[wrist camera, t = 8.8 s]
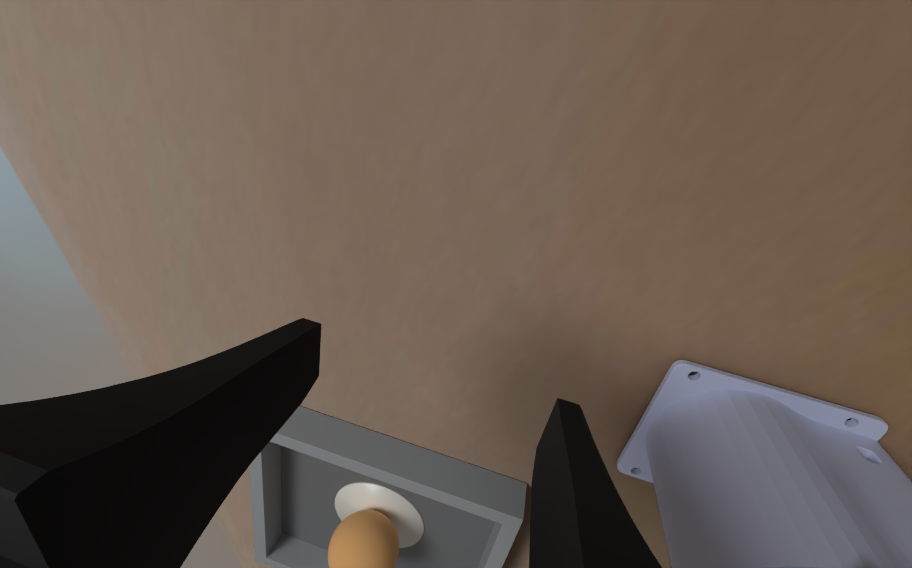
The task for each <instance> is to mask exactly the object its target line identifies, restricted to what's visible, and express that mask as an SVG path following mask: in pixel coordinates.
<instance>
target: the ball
mask: <svg viewBox="0 0 912 568" xmlns="http://www.w3.org/2000/svg"><path fill="white" fill-rule="evenodd" d="M398 555H399V537H398V533H397V531H396V528H395V526H394V525H393V523H392V522H391V520H390V519H389V518H388V517H387V516H385V515H384V514H382V513H381V512H378V511H375V510H360V511H357V512H355V513H353V514H351V515H349V516H348V517H346V518H345V519H344V520H343V521H342V522H341V523H340V524H339V525H338V527H337V528H336V529H335V531H334V533H333V535H332V537H331V540H330V543H329V548H328V564H329V568H395V565H396V563H397V560H398Z"/></svg>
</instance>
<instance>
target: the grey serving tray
mask: <svg viewBox="0 0 912 568" xmlns="http://www.w3.org/2000/svg"><path fill="white" fill-rule="evenodd" d="M249 477H250V491H251V505H252V519H253V533H254V547H255V560H256V561H259V562H261V563H264V564H266V565H269V566H271V567H274V568H329V564H328V548H329V543H330V540H331V537H332V535H333V533H334V531H335V529H336V528H337V527H338V525H339V524H340V523H341V522H342V521H343V520H344V519H345V518H346V517H348V516H349V515H351V514H353V513H355V512H357V511H360V510H375V511H378V512H381V513H382V514H384V515H385V516H387V517H388V518H389V519H390V520H391V522H392V523H393V525H394V526H395V528H396V531H397V533H398V537H399V555H398V560H397V563H396V565H395V568H502V566H503V564H504V562H505V559H506V557H507V555H508V553H509V551H510V548H511V546H512V544H513V542H514V540H515V537H516V535H517V533H518V531H519V528H520V526H521V524H522V522H523V518H524V508H525V498H526V488H527V483H524V482H521V481H518V480H515V479H512V478H509V477H506V476H504V475H501V474H498V473H495V472H492V471H489V470H486V469H483V468H480V467H477V466H474V465H471V464H468V463H465V462H463V461H460V460H457V459H454V458H451V457H448V456H445V455H442V454H439V453H436V452H433V451H430V450H427V449H424V448H422V447H419V446H416V445H413V444H410V443H407V442H404V441H401V440H398V439H395V438H392V437H389V436H386V435H383V434H381V433H378V432H375V431H372V430H369V429H366V428H363V427H360V426H357V425H354V424H351V423H348V422H345V421H342V420H340V419H337V418H334V417H331V416H328V415H325V414H322V413H319V412H316V411H313V410H310V409H307V408H304V407H302V406H299V407H298V408H297V409H296V410H295V412H294V413H293V414H292V415H291V417H290V418H289V419H288V420H287V421H286V423H285V424H284V425H283V426H282V427H281V429H280V430H279V431H278V432H277V433H276V434H275V436H274V437H273V438H272V439H271V440H270V442H269V443H268V444H267V445H266V446H265V447H264V449H263V450H262V451H261V452H260V453H259V455H258V456H257V457H256V458H255V459H254V460H253V462H252V463H251V464H250V465H249Z"/></svg>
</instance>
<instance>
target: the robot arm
mask: <svg viewBox="0 0 912 568" xmlns="http://www.w3.org/2000/svg"><path fill="white" fill-rule="evenodd" d="M320 340H321V324H320V323H317V322H314V321H311V320H307V319H304V318H302V319H299V320H296V321H294V322H292V323H289V324H287V325H285V326H282V327H280V328H278V329H276V330H273V331H271V332H269V333H267V334H264V335H262V336H260V337H257V338H255V339H253V340H250V341H248V342H246V343H243V344H241V345H239V346H236V347H234V348H231V349H229V350H226V351H223V352H221V353H218V354H216V355H213V356H210V357H208V358H205V359H203V360H200V361H197V362H194V363H191V364H188V365H185V366H182V367H179V368H176V369H173V370H170V371H166V372H163V373H160V374H156V375H153V376H149V377H146V378H142V379H138V380H133V381H129V382H126V383H121V384H117V385H113V386H109V387H105V388H101V389H96V390H91V391H86V392H81V393H76V394H71V395H65V396H59V397H53V398H48V399H41V400H35V401H29V402H20V403H13V404H5V405H0V568H180V567H181V566H182V564H183V562H184V561H185V559H186V557H187V556H188V554H189V553H190V551H191V549H192V548H193V546H194V545H195V543H196V542H197V540H198V539H199V537H200V536H201V534H202V533H203V531H204V529H205V528H206V526H207V525H208V524H209V522H210V520H211V519H212V517H213V516H214V514H215V513H216V511H217V510H218V508H219V507H220V506H221V504H222V503H223V501H224V500H225V498H226V497H227V495H228V494H229V493H230V491H231V490H232V488H233V487H234V485H235V484H236V482H237V481H238V480H239V478H240V477H241V476H242V474H243V473H244V472H245V470H246V469H247V468H248V467H249V465H250V464H251V463H252V462H253V460H254V459H255V458H256V457H257V456H258V455H259V453H260V452H261V451H262V450H263V449H264V447H265V446H266V445H267V444H268V443H269V442H270V440H271V439H272V438H273V437H274V436H275V434H276V433H277V432H278V431H279V430H280V429H281V427H282V426H283V425H284V424H285V423H286V421H287V420H288V419H289V418H290V417H291V415H292V414H293V413H294V412H295V410H296V409H297V408H298V407H299V406H300V404H301V403H302V401H303V400H304V398H305V397H306V395H307V394H308V392H309V391H310V389H311V388H312V386H313V384H314V383H315V381H316V380H317V378H318V376H319V362H320ZM690 372H698V373H697V374H696V375H688V374H689V373H690ZM850 418H852V419H851V420H848V421H846V420H847V419H850ZM887 430H888V425H887V424H886V423H885V421H884V420H883V419H882V418H880V417H878V416H875V415H871V414H868V413H865V412H861V411H858V410H854V409H851V408H847V407H844V406H841V405H837V404H834V403H830V402H827V401H823V400H820V399H817V398H813V397H810V396H806V395H803V394H799V393H796V392H793V391H789V390H786V389H782V388H779V387H776V386H772V385H769V384H765V383H762V382H758V381H755V380H752V379H748V378H745V377H741V376H738V375H734V374H731V373H728V372H724V371H721V370H717V369H714V368H711V367H707V366H704V365H700V364H697V363H693V362H690V361H687V360H678V361H676V362H674V363H673V364H672V365H671V367H670V368H669V370H668V372H667V374H666V375H665V377H664V379H663V381H662V382H661V384H660V386H659V388H658V389H657V391H656V393H655V395H654V397H653V398H652V400H651V402H650V404H649V405H648V407H647V409H646V411H645V412H644V414H643V416H642V418H641V419H640V421H639V423H638V425H637V426H636V428H635V430H634V432H633V433H632V435H631V437H630V439H629V441H628V442H627V444H626V446H625V448H624V449H623V451H622V453H621V455H620V456H619V458H618V460H617V468H618V470H619V471H620V472H621V473H623V474H626V475H629V476H633V477H636V478H639V479H642V480H645V481H648V482H651V483H653V484H654V488H655V493H656V498H657V503H658V507H659V512H660V517H661V521H662V526H663V531H664V535H665V540H666V545H667V550H668V554H669V559H670V564H671V568H912V482H911V481H910V479H909V478H908V477H907V476H906V475H905V474H904V472H903V471H902V470H901V469H900V468H899V466H898V465H897V464H896V463H895V462H894V461H893V459H892V458H891V457H890V456H889V455H888V454H887V452H886V451H885V450H884V449H883V448H882V447H881V445H880V444H879V443H878V442H877V441H878V440H879V439H880V438H881V437H882V436H883V435H884V434H885V433H886V432H887ZM633 468H638V469H633ZM529 568H662V567H661V565H660V564H659V562H658V561H657V559H656V558H655V556H654V555H653V553H652V552H651V550H650V549H649V547H648V545H647V544H646V542H645V540H644V539H643V537H642V536H641V534H640V532H639V531H638V529H637V527H636V525H635V524H634V522H633V520H632V518H631V517H630V515H629V513H628V511H627V509H626V507H625V505H624V504H623V502H622V500H621V498H620V496H619V494H618V492H617V490H616V488H615V486H614V484H613V482H612V480H611V478H610V476H609V474H608V471H607V469H606V467H605V465H604V463H603V460H602V458H601V456H600V454H599V451H598V449H597V447H596V444H595V442H594V440H593V437H592V435H591V432H590V430H589V427H588V424H587V422H586V419H585V417H584V414H583V411H582V409H581V407H580V405H578V404H575V403H572V402H569V401H565V400H562V399H559V398H557V401H556V403H555V406H554V408H553V410H552V413H551V415H550V418H549V420H548V422H547V425H546V427H545V429H544V432H543V434H542V437H541V439H540V441H539V444H538V446H537V450H536V456H535V463H534V470H533V477H532V489H531V520H530V556H529Z"/></svg>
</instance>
